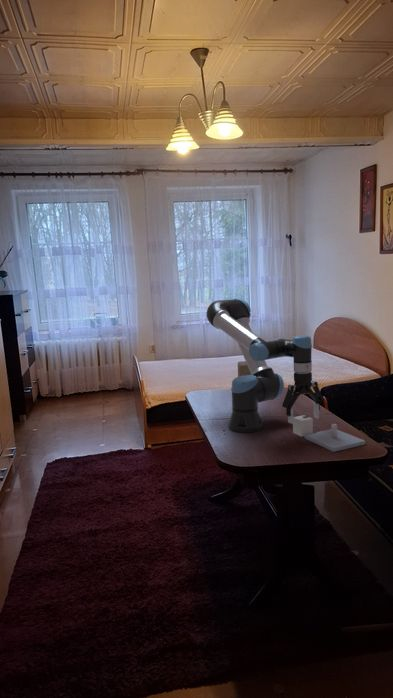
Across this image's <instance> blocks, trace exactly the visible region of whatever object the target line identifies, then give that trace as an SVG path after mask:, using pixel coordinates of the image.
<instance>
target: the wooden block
mask: <svg viewBox="0 0 393 698" xmlns="http://www.w3.org/2000/svg"><path fill="white" fill-rule="evenodd" d="M246 375H251V372H250V370H249V368H248V365H247V363H246V361H245V360H243V361H238V362H237V377H239V376H246Z"/></svg>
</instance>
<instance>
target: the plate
mask: <svg viewBox="0 0 393 698" xmlns="http://www.w3.org/2000/svg"><path fill="white" fill-rule="evenodd" d="M330 425H331V427H330V429H325V430H321V431H317V432H316V431H315V432H313V433H310V434H306V435H305V436H304V439H305V440H308V441H310V442H311V443H314V444H316V445H317V446H320V447H323V448H325V449H327V450H329V451H331V452H334V453H335V452H338V451H342V450H343V451H344V450H348V449H352V448H356V447H361V446H364V445H366V440H365V439H362V438H360V437H357V436H355V435H352V434H350V433H346V432H344V431H341V430H339V429H338V424H337V423H331V424H330Z"/></svg>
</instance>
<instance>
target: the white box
mask: <svg viewBox="0 0 393 698" xmlns="http://www.w3.org/2000/svg"><path fill="white" fill-rule="evenodd" d="M310 433H314V418H313V417H309V415H305V414H303V415H298V416H293V424H292V434H295V435H297V436H299V437H301V438H302V437H303V438H304V437H305V435H306V434H310Z"/></svg>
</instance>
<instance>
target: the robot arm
mask: <svg viewBox="0 0 393 698" xmlns="http://www.w3.org/2000/svg"><path fill="white" fill-rule="evenodd" d="M251 312H252V310H251V307H250V305H249V303H248V302H247V301H246V300H244V299H240V298H234V299H233V298H232V299H221V300H220V299H219V300H214V301H213V302H211V303H210V304H209V306H208V307H207V309H206V318H207V321H208V322H209V324H210V325H212V327H214V328H215V329H217V330H218V329H219V330H221V331H223V332H224V333H225V334H227V335H228V336H229V337H231V338H232V339H233V340H234V341H235V342H237V345H238V346H239V349H240V351H241V353H242V356H243V358H244V361H246V363H247V365H248V368H249V370H250V372H251V375H246V376H239V377H238V376H237V377H235V378H233V380H232V382H231V404H232V405H231V407H232V409H231V413H230V417H229V422H228V428H229V430H231V431H233V432H236V433H255V432H258V431H260V430H261V429H263V422H262V419H261V416H260V413H259V403H262V402H266V401H273V400H275V399H278V398H280V397H281V396H282V395H283V393H284V389H285V383H284V379H283V377H282V375H280V374H278V373H277V372H276V373H275V371H274V369H273V368H272V367H270V366H268V364H267V362H266V360H272V359H277V358H282V357H283V358H285V357H289V358H293V381H294V384H288V385H287V392H286V395H285V397H284V400H283V403H282V405H281V406H282V407H283V408H285V410H286V416H287V422H288V424H291V425H293V417H294V409H293V406H294V404H295V403H296V401H297V399H298V398H299V397H300V396H301V395H304V394H308V395H309V397H310V398H311V399H312V400H313V401H314V402H313V419H314V418H315V419H317V420H318V419H320V411H321V404H322V403H323V402H325V399H324V396H323V394H322V392H321V390H320V388H319V385H318V381H316V380H313V373H312V371H313V370H312V369H313V365H312V364H313V363H312V362H313V360H312V350H313V349H312V348H313V346H312V338H311V336H309V335H295V336H293V337H292V339H286V338H275V339H274V340H269V341H265V340H264V338H262V337H260V336H258V335H257V334H256V333H254V332H253V331H252V329H251V326H250V321H251ZM312 389H313V390H312Z"/></svg>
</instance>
